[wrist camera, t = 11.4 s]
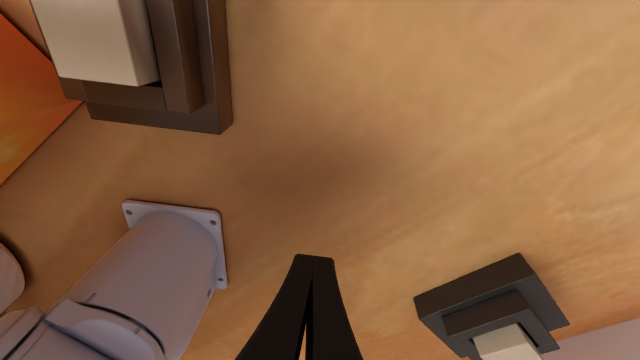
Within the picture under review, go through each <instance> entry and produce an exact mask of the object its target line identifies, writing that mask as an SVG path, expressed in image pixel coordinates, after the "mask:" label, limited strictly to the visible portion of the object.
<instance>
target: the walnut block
mask: <svg viewBox="0 0 640 360" xmlns="http://www.w3.org/2000/svg"><path fill="white" fill-rule="evenodd" d="M29 2H30V5H31V7H32V10H33V13H34V15H35V18H36V21H37V23H38V26H39V29H40V31H41V34H42V37H43V39H44V42H45V45H46V47H47V50H48V52H49V55H50V58H51V60H52V63H53V66H54V68H55V71H56V74H57V76H58V79H59V82H60V84H61V87H62V90H63V92H64V95H65V98H66V99H71V100H80V101H85V102H86V105H87V108H88V111H89V113H90V116H91V119H95V120H103V121H111V122H119V123H128V124H136V125H144V126H152V127H160V128H168V129H176V130H184V131H193V132H201V133H209V134H217V135H221V134H222V133H223V132H224V131H225V130H226V129H227V128H228V127H230V126H231V125H232V123H233V121H232V106H231V91H230V76H229V60H228V45H227V30H226V15H225V0H145V3H146V8H147V13H148V18H149V23H150V29H151V34H152V39H153V44H154V49H155V55H156V60H157V65H158V70H159V76H160V80H158V81H155V82H151V83H148V84H145V85H141V86H138V87H137V86H129V85H121V84H112V83H104V82H96V81H88V80H80V79H72V78H63V77H60V76H59V75H58V72H57V69H56V67H55V64H54V61H53V59H52V56H51V53H50V51H49V48H48V45H47V43H46V40H45V37H44V35H43V32H42V29H41V27H40V24H39V21H38V19H37V16H36V13H35V11H34V8H33V5H32V3H31V0H29Z"/></svg>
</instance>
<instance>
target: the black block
mask: <svg viewBox="0 0 640 360" xmlns="http://www.w3.org/2000/svg"><path fill="white" fill-rule="evenodd" d="M413 299H414V303H415V306H416V310H417V314H418V317H419V320H420V321H421V322H423V323H424V324H425V325H426V326H427V327H428V328H429V329H430V330H431V331H432V332H433V333H434V334H435V335H436V336H437V337H439V338H440V339H441V340H442V341H443V342H444V343H445V344H446V345H447V346H448V347H449V348H450V349H451V350H452V351H453V352H455V353H456V354H457V355H458V356H459V357H460V358H464V357H467V356H468V357H469V358H470V359H471V360H483V359H482V358H481V357H480V355H479V352H478V350H477V348H476V345H475V343H474V341H473V337H476V336H479V335H482V334H485V333H488V332H491V331H494V330H497V329H500V328H503V327H506V326H509V325H512V324H515V323H517V324H518V325H519V326H520V327H521V329H522V330H523V331H524V332H525V333H526V335H527V336H528V337H529V338H530V339H531V341H532V342H533V344H534V345H535V347H536V348H537V350H538V352H539V353H540V354H544V353H547V352H551V351H554V350H558V349H560V347H559V346H558V344H557V343H556V342H555V340H554V339H553V337H552V336H551V334H550V333H549V331H552V330H555V329H558V328H561V327H565V326H568V325H570V323H569V322H568V320H567V319H566V317H565V316H564V314H563V313H562V311H561V310H560V308H559V307H558V305H557V304H556V302H555V301H554V300H553V298H552V297H551V295H550V294H549V292H548V291H547V289H546V288H545V286H544V285H543V283H542V282H541V280H540V279H539V278H538V276H537V275H536V273H535V272H534V271H533V269H532V268H531V267H530V266H529V264H528V263H527V262H526V261H525V259H524V258H523V257H522V255H521V254H520V253H518V254H515V255H513V256H511V257H508V258H506V259H504V260H501V261H499V262H497V263H494V264H492V265H490V266H487V267H485V268H483V269H480V270H478V271H475V272H473V273H471V274H468V275H466V276H464V277H461V278H459V279H457V280H454V281H452V282H450V283H447V284H445V285H443V286H440V287H438V288H436V289H433V290H431V291H429V292H426V293H424V294H421V295H419V296H417V297H414V298H413Z"/></svg>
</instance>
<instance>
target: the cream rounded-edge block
mask: <svg viewBox="0 0 640 360" xmlns="http://www.w3.org/2000/svg"><path fill="white" fill-rule="evenodd" d="M473 341H474V343H475V345H476V348H477V350H478V352H479V355H480V357H481V358H482V359H483V360H543V358H542V357H541V355H540V353H539V352H538V350H537V348H536V347H535V345H534V344H533V342H532V341H531V339H530V338H529V337H528V336H527V335H526V333H525V332H524V331H523V330H522V329H521V327H520V326H519V325H518V324H517V323H515V324H512V325H509V326H506V327H503V328H500V329H497V330H494V331H491V332H488V333H485V334H482V335H479V336H476V337H473Z"/></svg>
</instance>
